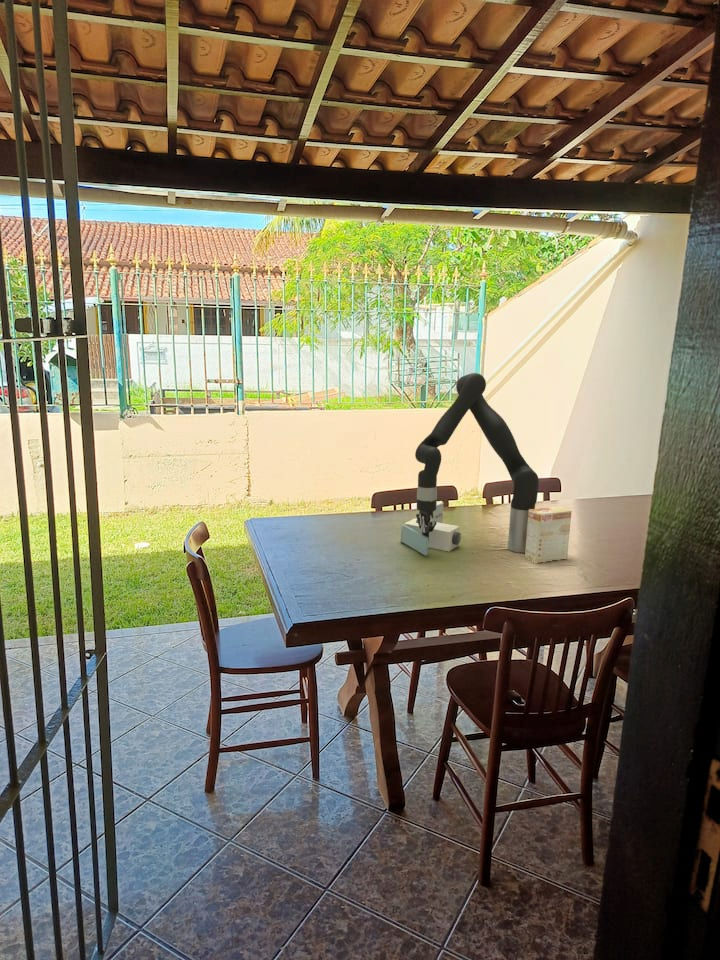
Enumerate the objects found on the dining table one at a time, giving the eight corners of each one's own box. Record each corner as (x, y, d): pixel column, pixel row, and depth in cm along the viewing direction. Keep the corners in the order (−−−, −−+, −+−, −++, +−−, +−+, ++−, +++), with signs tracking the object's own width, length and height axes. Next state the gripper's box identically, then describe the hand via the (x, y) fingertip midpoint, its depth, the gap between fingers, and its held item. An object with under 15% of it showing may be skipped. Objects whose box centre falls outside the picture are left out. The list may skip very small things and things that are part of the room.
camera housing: (461, 546, 251) (463, 525, 249) (452, 552, 243) (453, 530, 241) (414, 536, 262) (415, 516, 260) (403, 542, 255) (404, 521, 253)
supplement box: (434, 534, 266) (435, 505, 263) (419, 530, 270) (420, 502, 268) (442, 530, 272) (444, 502, 269) (428, 527, 276) (429, 499, 273)
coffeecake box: (555, 553, 244) (560, 505, 240) (567, 559, 238) (572, 510, 234) (523, 557, 239) (527, 508, 235) (535, 564, 233) (539, 513, 228)
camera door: (427, 555, 238) (428, 537, 236) (425, 555, 237) (426, 537, 236) (402, 540, 255) (403, 523, 253) (400, 541, 254) (400, 524, 252)
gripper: (410, 494, 241) (409, 537, 245) (425, 502, 229) (424, 547, 233) (427, 492, 244) (426, 535, 248) (443, 501, 232) (442, 545, 236)
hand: (425, 541), depth 241 cm, fingers closed
